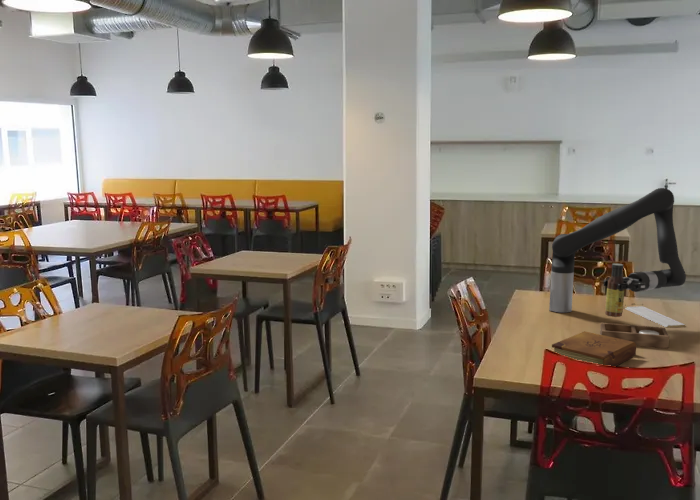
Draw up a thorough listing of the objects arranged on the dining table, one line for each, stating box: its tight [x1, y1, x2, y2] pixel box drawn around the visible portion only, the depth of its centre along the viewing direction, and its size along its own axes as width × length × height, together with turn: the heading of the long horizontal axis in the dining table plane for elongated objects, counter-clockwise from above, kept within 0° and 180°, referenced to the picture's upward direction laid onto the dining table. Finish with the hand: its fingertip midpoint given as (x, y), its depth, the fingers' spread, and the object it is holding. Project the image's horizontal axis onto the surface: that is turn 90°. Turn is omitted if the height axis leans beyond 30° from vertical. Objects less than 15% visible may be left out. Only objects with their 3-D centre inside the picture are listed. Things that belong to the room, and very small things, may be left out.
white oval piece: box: [639, 330, 659, 335], centre depth 237 cm, size 7×7×4 cm
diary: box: [551, 331, 637, 367], centre depth 222 cm, size 23×19×6 cm
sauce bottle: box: [604, 263, 626, 318], centre depth 249 cm, size 7×6×20 cm
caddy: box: [599, 322, 670, 349], centre depth 239 cm, size 22×12×5 cm, turn 71°
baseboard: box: [623, 303, 686, 328], centre depth 274 cm, size 30×3×10 cm
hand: (611, 285), depth 248 cm, fingers closed on sauce bottle, 6 cm apart
